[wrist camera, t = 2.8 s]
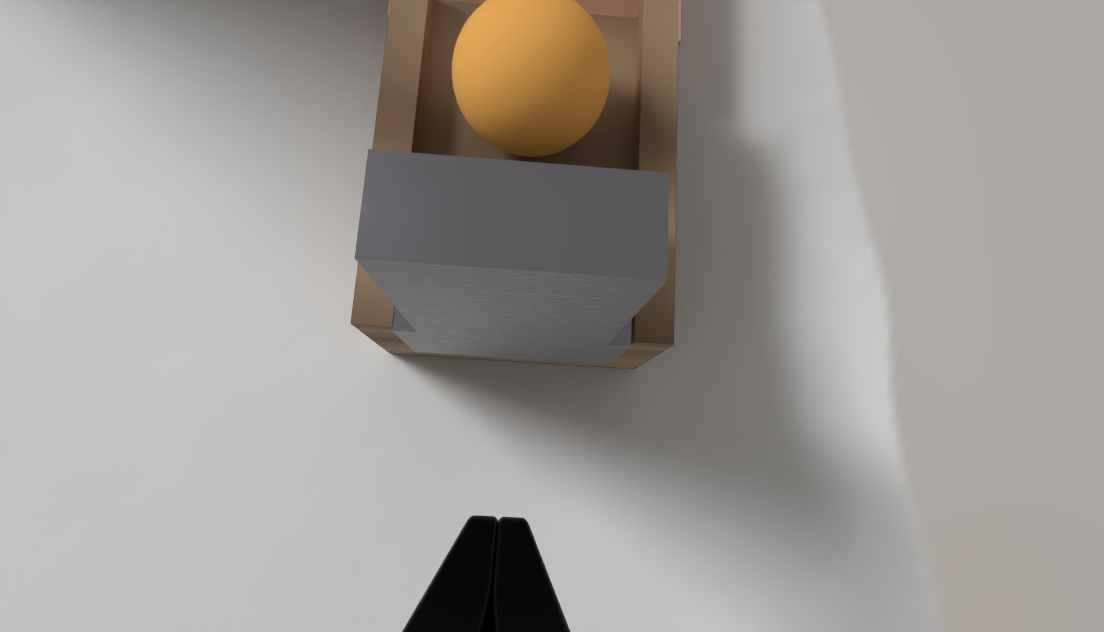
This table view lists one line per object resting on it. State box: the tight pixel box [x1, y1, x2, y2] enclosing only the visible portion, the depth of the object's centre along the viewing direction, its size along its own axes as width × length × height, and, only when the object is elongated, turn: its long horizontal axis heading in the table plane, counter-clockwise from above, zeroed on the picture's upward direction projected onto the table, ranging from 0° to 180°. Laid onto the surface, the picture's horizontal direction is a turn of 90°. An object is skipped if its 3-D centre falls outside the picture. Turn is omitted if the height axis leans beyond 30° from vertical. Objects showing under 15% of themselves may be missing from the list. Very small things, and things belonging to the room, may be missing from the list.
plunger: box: [355, 149, 669, 364], centre depth 12 cm, size 4×5×8 cm
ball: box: [452, 0, 611, 157], centre depth 16 cm, size 4×4×4 cm
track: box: [351, 0, 679, 369], centre depth 19 cm, size 10×8×5 cm
